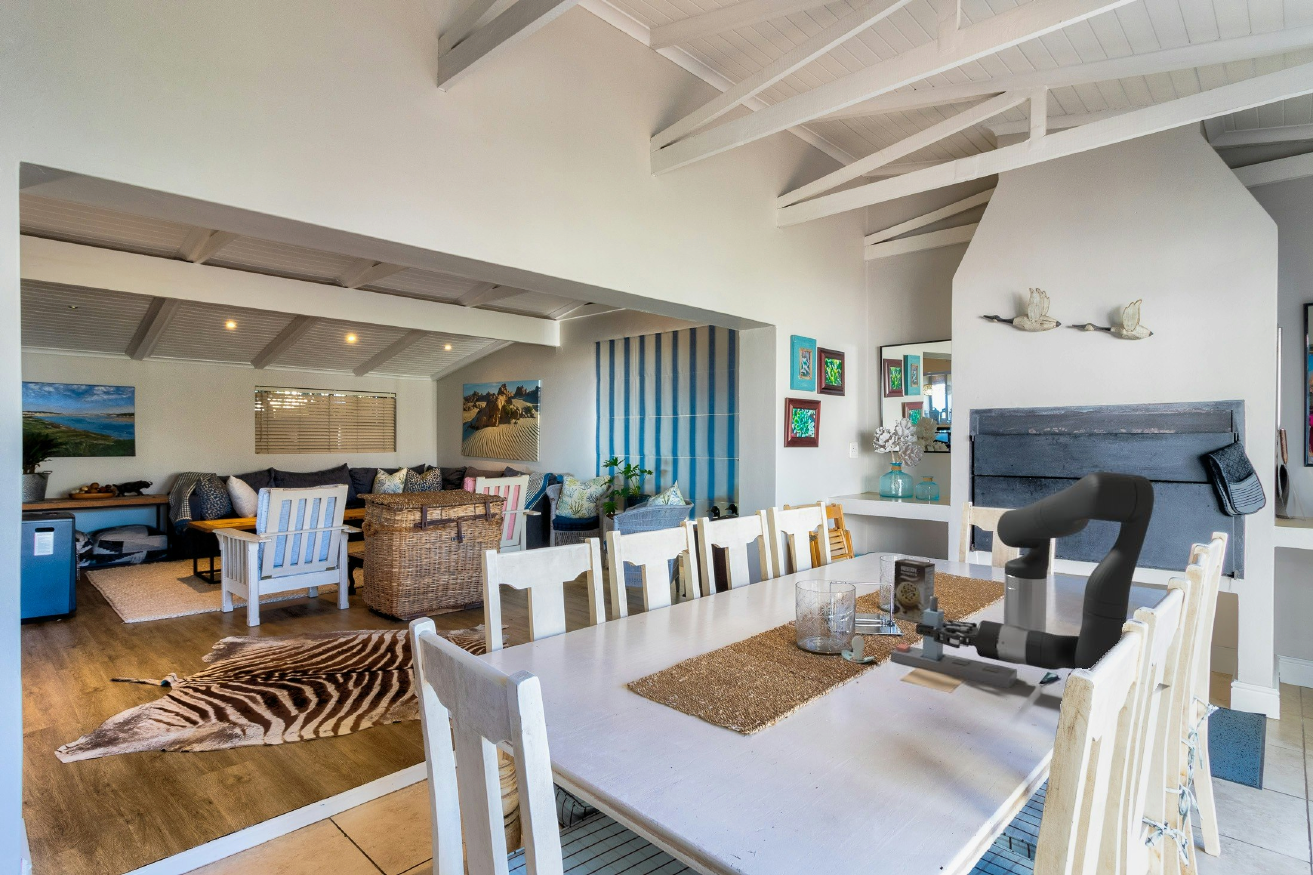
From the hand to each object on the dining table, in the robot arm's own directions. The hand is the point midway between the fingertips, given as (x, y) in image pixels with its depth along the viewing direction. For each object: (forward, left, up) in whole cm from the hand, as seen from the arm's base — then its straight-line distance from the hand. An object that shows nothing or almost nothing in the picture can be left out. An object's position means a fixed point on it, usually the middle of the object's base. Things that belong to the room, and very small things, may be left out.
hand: (920, 626), depth 152 cm
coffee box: (-39, -15, -9) cm, 43 cm away
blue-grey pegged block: (0, +3, -8) cm, 8 cm away
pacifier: (+8, -11, -9) cm, 17 cm away
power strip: (0, +7, -9) cm, 11 cm away
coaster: (+9, +6, -9) cm, 14 cm away
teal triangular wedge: (-12, +17, -10) cm, 23 cm away
